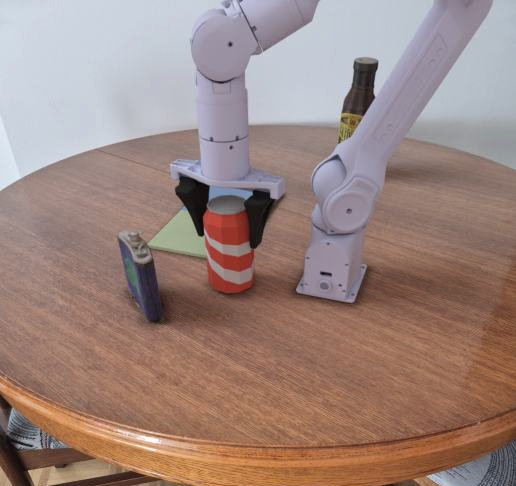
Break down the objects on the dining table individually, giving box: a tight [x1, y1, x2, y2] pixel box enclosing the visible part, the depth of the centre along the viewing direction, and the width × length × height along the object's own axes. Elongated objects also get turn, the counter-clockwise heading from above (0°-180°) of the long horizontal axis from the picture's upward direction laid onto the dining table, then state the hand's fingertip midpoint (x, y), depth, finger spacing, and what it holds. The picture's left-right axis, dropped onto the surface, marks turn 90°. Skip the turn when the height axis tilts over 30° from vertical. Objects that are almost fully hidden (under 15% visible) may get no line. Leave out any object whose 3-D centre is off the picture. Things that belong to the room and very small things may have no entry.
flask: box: [116, 229, 165, 325], centre depth 69 cm, size 9×3×11 cm, turn 28°
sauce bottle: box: [336, 56, 379, 146], centre depth 96 cm, size 7×6×20 cm
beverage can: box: [203, 195, 256, 294], centre depth 72 cm, size 6×6×12 cm
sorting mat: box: [147, 186, 279, 259], centre depth 90 cm, size 24×14×1 cm, turn 160°
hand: (229, 238), depth 71 cm, fingers open, 7 cm apart
